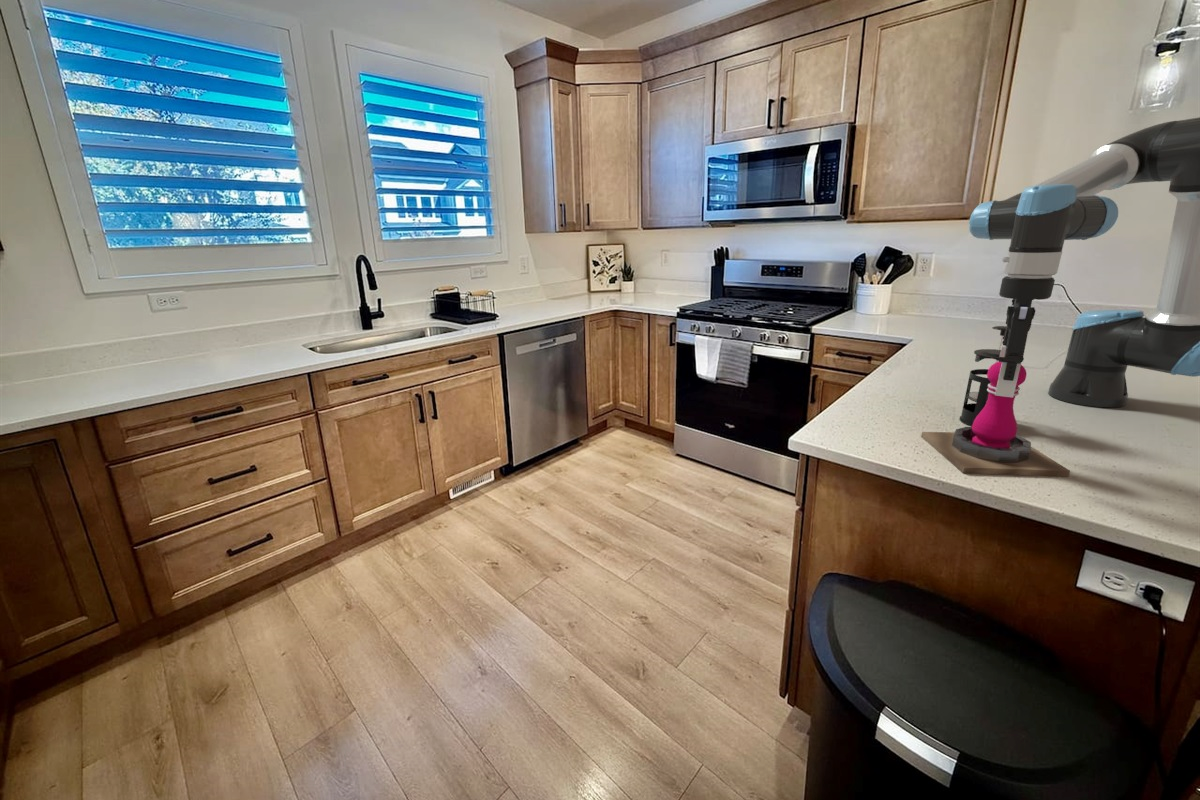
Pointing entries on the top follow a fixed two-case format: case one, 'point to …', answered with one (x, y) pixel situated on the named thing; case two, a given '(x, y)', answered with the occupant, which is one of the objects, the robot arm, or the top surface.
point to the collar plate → (968, 464)
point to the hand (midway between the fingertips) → (1003, 386)
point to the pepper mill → (997, 413)
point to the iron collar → (991, 448)
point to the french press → (982, 396)
